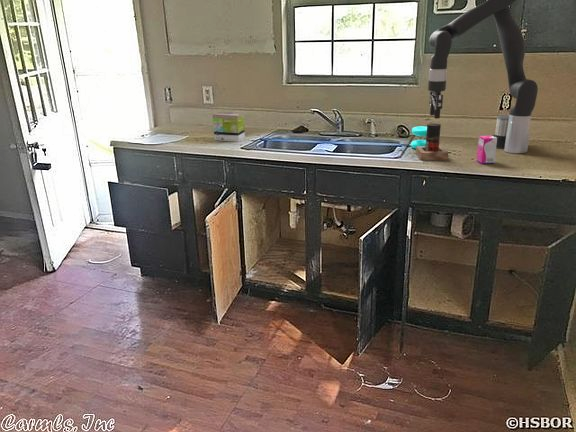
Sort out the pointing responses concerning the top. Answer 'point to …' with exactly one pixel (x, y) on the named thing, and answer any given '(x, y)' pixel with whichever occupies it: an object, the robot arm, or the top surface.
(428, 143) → the deodorant
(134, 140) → the top surface
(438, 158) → the collar block
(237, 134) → the tea box
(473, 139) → the top surface
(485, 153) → the supplement box
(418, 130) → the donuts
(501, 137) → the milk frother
